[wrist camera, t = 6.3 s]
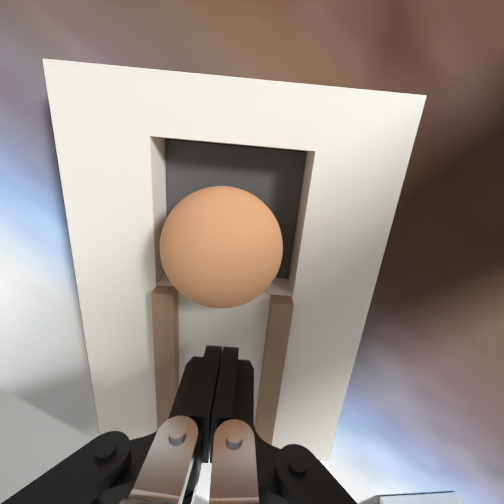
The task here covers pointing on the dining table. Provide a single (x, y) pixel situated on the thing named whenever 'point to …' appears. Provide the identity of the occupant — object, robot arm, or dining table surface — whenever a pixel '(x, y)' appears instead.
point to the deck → (246, 178)
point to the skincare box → (423, 499)
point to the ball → (221, 247)
